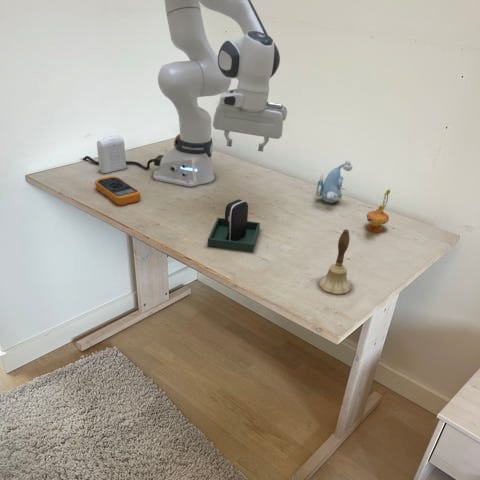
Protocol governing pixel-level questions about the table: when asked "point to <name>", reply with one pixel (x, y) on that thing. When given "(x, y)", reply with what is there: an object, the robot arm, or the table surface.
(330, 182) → the toy figure
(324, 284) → the hand bell
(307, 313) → the table surface
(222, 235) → the storage box
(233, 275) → the table surface
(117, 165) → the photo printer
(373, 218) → the magic lamp
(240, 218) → the battery charger
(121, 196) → the multimeter
